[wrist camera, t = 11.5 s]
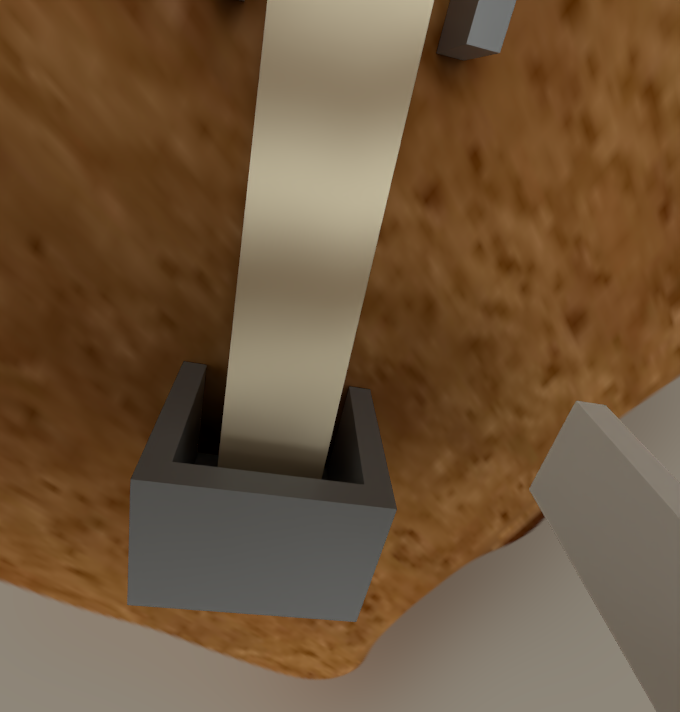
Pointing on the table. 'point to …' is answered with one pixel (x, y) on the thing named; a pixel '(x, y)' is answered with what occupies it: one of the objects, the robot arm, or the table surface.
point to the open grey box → (256, 520)
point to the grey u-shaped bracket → (474, 28)
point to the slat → (313, 219)
